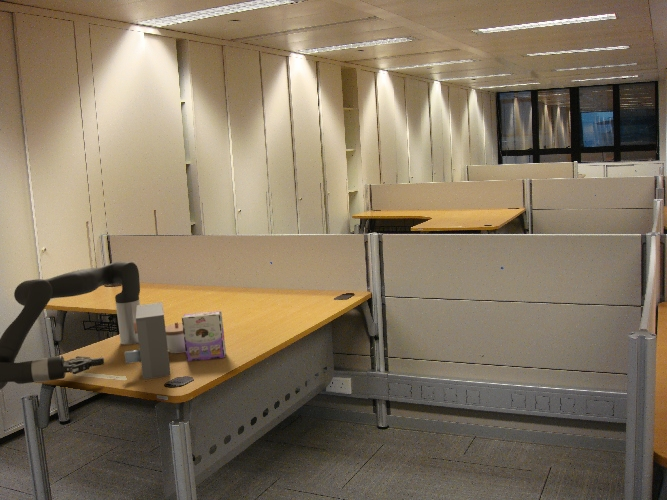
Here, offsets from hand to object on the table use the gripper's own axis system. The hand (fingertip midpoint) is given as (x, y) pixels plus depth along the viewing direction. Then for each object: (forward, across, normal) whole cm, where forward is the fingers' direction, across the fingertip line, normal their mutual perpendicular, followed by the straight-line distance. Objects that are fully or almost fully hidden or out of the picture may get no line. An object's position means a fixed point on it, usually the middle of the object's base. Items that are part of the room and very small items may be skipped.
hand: (103, 361), depth 222 cm
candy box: (+34, +10, +7) cm, 36 cm away
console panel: (+17, +6, +7) cm, 19 cm away
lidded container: (+25, +25, +7) cm, 36 cm away
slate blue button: (+10, 0, +2) cm, 10 cm away
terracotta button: (+14, +12, -5) cm, 19 cm away
